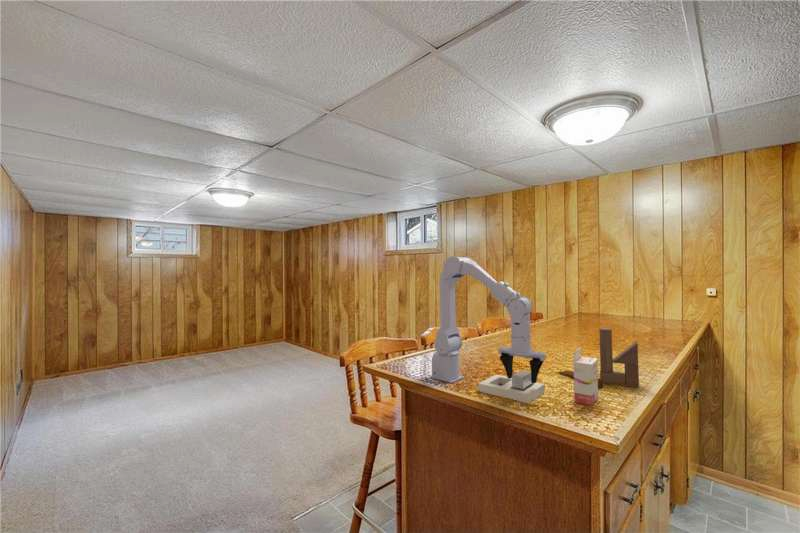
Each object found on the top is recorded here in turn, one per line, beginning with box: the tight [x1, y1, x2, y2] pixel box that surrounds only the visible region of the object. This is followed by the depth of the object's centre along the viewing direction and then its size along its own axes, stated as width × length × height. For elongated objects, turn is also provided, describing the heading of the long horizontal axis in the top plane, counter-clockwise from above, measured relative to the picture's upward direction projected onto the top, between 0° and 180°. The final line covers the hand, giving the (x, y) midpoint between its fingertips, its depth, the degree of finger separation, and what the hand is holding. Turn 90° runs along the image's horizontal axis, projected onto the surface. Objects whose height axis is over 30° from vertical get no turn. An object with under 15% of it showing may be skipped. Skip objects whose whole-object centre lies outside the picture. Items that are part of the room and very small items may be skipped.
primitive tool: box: [556, 370, 605, 390], centre depth 121 cm, size 19×6×4 cm, turn 13°
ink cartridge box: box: [572, 346, 599, 407], centre depth 103 cm, size 9×5×15 cm, turn 141°
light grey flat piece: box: [477, 373, 546, 404], centre depth 111 cm, size 16×12×2 cm
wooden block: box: [598, 327, 640, 388], centre depth 116 cm, size 4×11×18 cm, turn 61°
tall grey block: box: [512, 369, 532, 391], centre depth 109 cm, size 4×7×6 cm, turn 138°
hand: (521, 380), depth 109 cm, fingers open, 7 cm apart
